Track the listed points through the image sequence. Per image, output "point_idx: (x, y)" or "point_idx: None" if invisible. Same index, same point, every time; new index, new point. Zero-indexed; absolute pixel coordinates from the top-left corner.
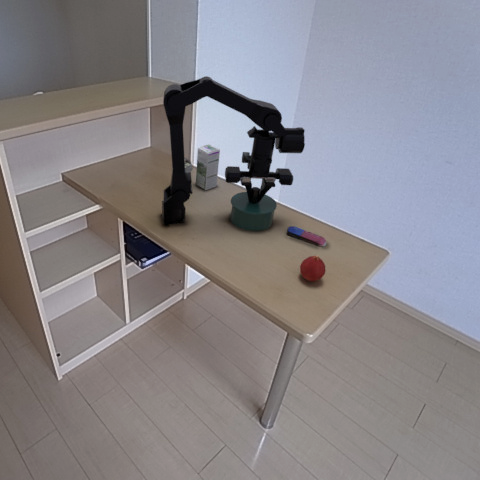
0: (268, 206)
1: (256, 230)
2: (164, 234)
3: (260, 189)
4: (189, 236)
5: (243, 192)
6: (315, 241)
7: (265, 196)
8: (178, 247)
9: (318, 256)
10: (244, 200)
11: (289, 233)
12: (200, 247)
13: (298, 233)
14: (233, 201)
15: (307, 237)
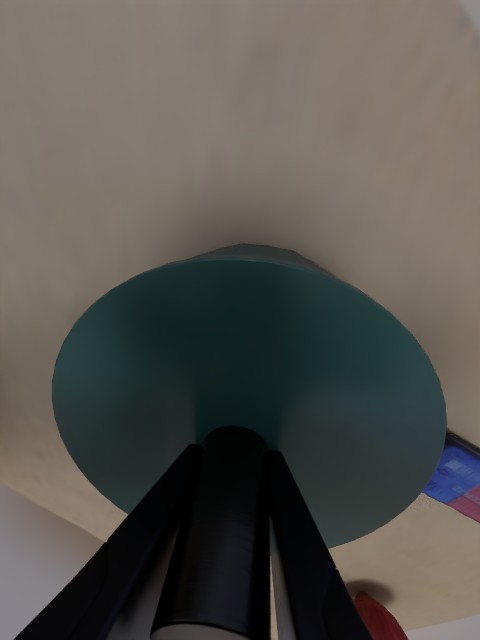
0: (343, 501)
1: None
2: None
3: (287, 612)
4: (23, 445)
5: (144, 284)
6: None
7: (379, 364)
8: (15, 486)
9: None
10: (161, 429)
11: None
12: (75, 489)
13: (443, 496)
14: (79, 439)
15: (470, 513)
